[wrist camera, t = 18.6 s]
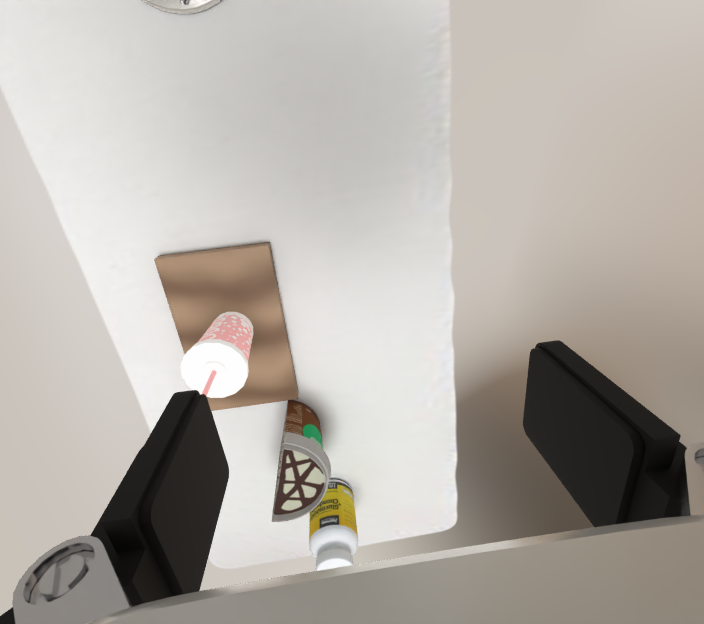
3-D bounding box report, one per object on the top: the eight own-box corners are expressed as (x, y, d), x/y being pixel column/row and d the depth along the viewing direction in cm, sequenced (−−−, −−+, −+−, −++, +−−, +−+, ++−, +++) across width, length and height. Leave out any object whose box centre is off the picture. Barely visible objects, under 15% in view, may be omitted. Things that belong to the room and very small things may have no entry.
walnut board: (159, 255, 41) (154, 259, 40) (269, 242, 42) (268, 245, 41) (206, 404, 49) (203, 412, 48) (298, 391, 50) (298, 398, 49)
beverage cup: (253, 301, 43) (227, 366, 30) (265, 348, 45) (246, 427, 33) (199, 309, 43) (149, 379, 30) (214, 356, 45) (174, 439, 32)
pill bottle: (347, 472, 56) (355, 548, 46) (356, 502, 59) (365, 580, 48) (305, 482, 56) (302, 560, 46) (315, 512, 59) (316, 592, 48)
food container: (321, 464, 55) (322, 527, 46) (278, 461, 54) (271, 525, 45) (335, 395, 51) (340, 449, 42) (289, 390, 50) (283, 444, 41)
